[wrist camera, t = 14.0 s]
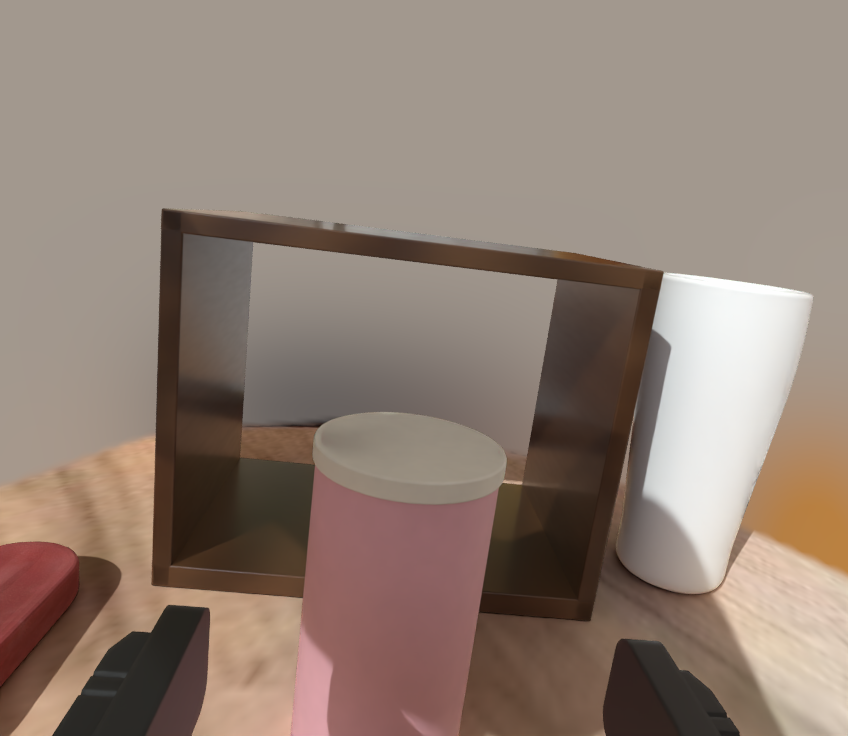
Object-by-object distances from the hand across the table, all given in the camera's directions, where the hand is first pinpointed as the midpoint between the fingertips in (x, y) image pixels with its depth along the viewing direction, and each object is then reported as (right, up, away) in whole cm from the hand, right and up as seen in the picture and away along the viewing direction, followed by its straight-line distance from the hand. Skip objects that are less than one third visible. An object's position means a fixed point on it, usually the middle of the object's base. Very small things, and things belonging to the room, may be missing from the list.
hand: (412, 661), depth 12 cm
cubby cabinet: (-2, -3, +20) cm, 21 cm away
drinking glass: (+13, -5, +21) cm, 25 cm away
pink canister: (-1, -6, +8) cm, 10 cm away
